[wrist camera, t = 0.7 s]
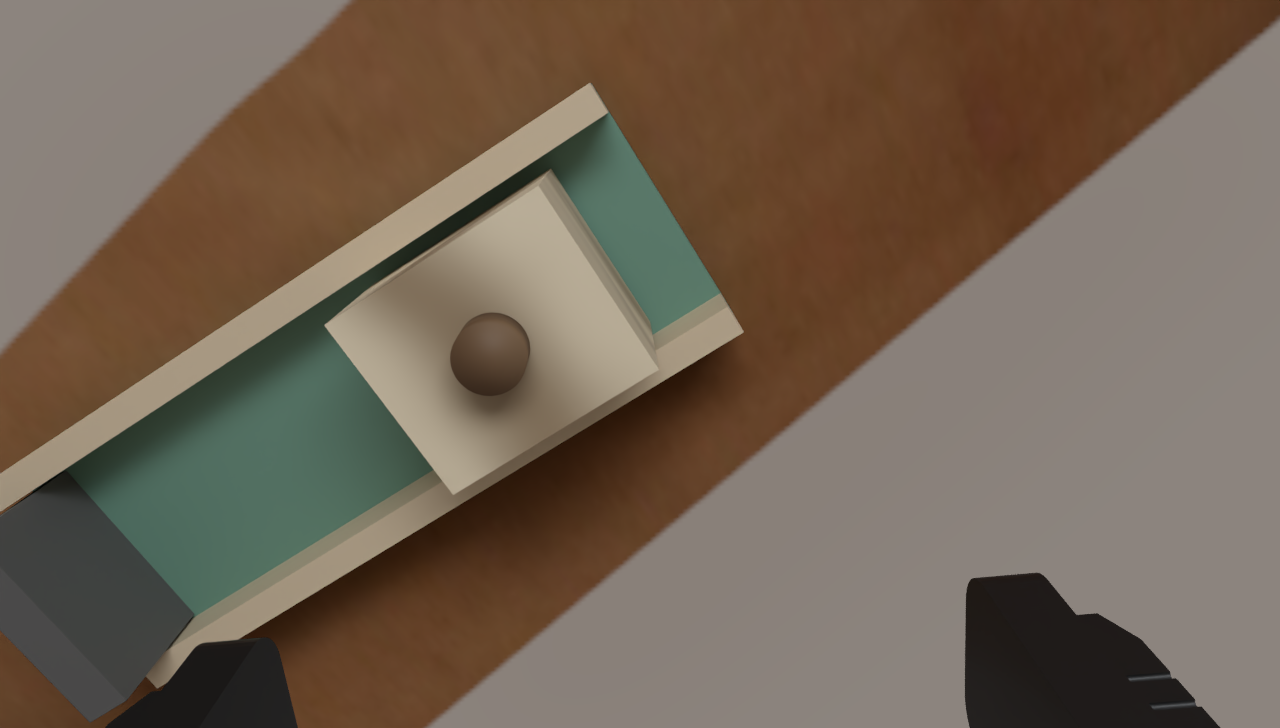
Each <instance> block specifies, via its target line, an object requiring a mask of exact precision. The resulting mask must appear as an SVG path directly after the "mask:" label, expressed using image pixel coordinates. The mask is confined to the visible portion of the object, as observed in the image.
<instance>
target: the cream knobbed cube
mask: <svg viewBox="0 0 1280 728" xmlns="http://www.w3.org/2000/svg"><path fill="white" fill-rule="evenodd" d="M324 326H325V327H326V328H327V330H328V331H329V332H330V334H331V335H332V336H333V338H334V339H335V340H336V342H337V343H338V344H339V346H340V347H341V348H342V349H343V351H344V352H345V353H346V355H347V356H348V357H349V359H350V360H351V361H352V363H353V364H354V365H355V367H356V368H357V369H358V371H359V372H360V373H361V374H362V376H363V377H364V378H365V380H366V381H367V382H368V384H369V385H370V386H371V388H372V389H373V390H374V392H375V393H376V394H377V396H378V397H379V398H380V399H381V401H382V402H383V403H384V405H385V406H386V407H387V409H388V410H389V411H390V413H391V414H392V415H393V417H394V418H395V419H396V421H397V422H398V423H399V425H400V426H401V427H402V428H403V430H404V431H405V432H406V434H407V435H408V436H409V438H410V439H411V440H412V442H413V443H414V444H415V446H416V447H417V448H418V450H419V451H420V452H421V453H422V455H423V456H424V457H425V459H426V460H427V461H428V463H429V464H430V465H431V467H432V468H433V469H434V471H435V472H436V473H437V475H438V476H439V477H440V478H441V480H442V481H443V482H444V484H445V485H446V486H447V488H448V489H449V490H450V492H451V493H452V494H453V495H454V494H456V493H457V492H459V491H461V490H462V489H464V488H466V487H467V486H469V485H471V484H472V483H474V482H475V481H477V480H479V479H480V478H482V477H484V476H485V475H487V474H489V473H490V472H492V471H494V470H495V469H497V468H498V467H500V466H502V465H503V464H505V463H507V462H508V461H510V460H512V459H513V458H515V457H516V456H518V455H520V454H521V453H523V452H525V451H526V450H528V449H530V448H531V447H533V446H534V445H536V444H538V443H539V442H541V441H543V440H544V439H546V438H548V437H549V436H551V435H553V434H554V433H556V432H557V431H559V430H561V429H562V428H564V427H566V426H567V425H569V424H571V423H572V422H574V421H575V420H577V419H579V418H580V417H582V416H584V415H585V414H587V413H589V412H590V411H592V410H594V409H595V408H597V407H598V406H600V405H602V404H603V403H605V402H607V401H608V400H610V399H612V398H613V397H615V396H616V395H618V394H620V393H621V392H623V391H625V390H626V389H628V388H630V387H631V386H633V385H635V384H636V383H638V382H639V381H641V380H643V379H644V378H646V377H648V376H649V375H651V374H653V373H654V372H656V371H657V370H659V367H658V362H657V356H656V351H655V345H654V340H653V334H652V329H651V323H650V321H649V319H648V318H647V316H646V315H645V313H644V311H643V310H642V308H641V307H640V305H639V304H638V302H637V301H636V299H635V298H634V296H633V294H632V293H631V291H630V290H629V288H628V287H627V285H626V284H625V282H624V281H623V279H622V277H621V276H620V274H619V273H618V271H617V270H616V268H615V267H614V265H613V264H612V262H611V260H610V259H609V257H608V256H607V254H606V253H605V251H604V250H603V248H602V247H601V245H600V244H599V242H598V240H597V239H596V237H595V236H594V234H593V233H592V231H591V230H590V228H589V227H588V225H587V223H586V222H585V220H584V219H583V217H582V216H581V214H580V213H579V211H578V210H577V208H576V206H575V205H574V203H573V202H572V200H571V199H570V197H569V196H568V194H567V193H566V191H565V189H564V188H563V186H562V185H561V183H560V182H559V180H558V179H557V177H556V176H555V174H554V172H553V171H552V169H551V168H550V169H549V170H547V171H546V172H544V173H543V174H541V175H540V176H538V177H537V178H535V179H534V180H532V181H531V182H529V183H527V184H526V185H524V186H523V187H521V188H520V189H518V190H517V191H515V192H514V193H512V194H511V195H509V196H508V197H506V198H505V199H503V200H501V201H500V202H498V203H497V204H495V205H494V206H492V207H491V208H489V209H488V210H486V211H485V212H483V213H482V214H480V215H479V216H477V217H475V218H474V219H472V220H471V221H469V222H468V223H466V224H465V225H463V226H462V227H460V228H459V229H457V230H456V231H454V232H452V233H451V234H449V235H448V236H446V237H445V238H443V239H442V240H440V241H439V242H437V243H436V244H434V245H433V246H431V247H430V248H428V249H426V250H425V251H423V252H422V253H420V254H419V255H417V256H416V257H414V258H413V259H411V260H410V261H408V262H407V263H405V264H403V265H402V266H400V267H399V268H397V269H396V270H394V271H393V272H391V273H390V274H388V275H387V276H385V277H384V278H382V279H381V280H379V281H377V282H376V283H374V284H373V285H372V286H371V287H369V288H368V289H367V290H366V291H365V292H363V293H362V294H361V295H360V296H359V297H357V298H356V299H355V300H354V301H353V302H351V303H350V304H349V305H348V306H347V307H345V308H344V309H343V310H342V311H341V312H339V313H338V314H337V315H336V316H335V317H334V318H332V319H331V320H330V321H329V322H328V323H326V324H325V325H324Z"/></svg>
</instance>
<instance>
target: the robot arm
mask: <svg viewBox="0 0 1280 728" xmlns="http://www.w3.org/2000/svg"><path fill="white" fill-rule="evenodd" d="M965 644H966V645H965V646H966V647H965V702H966V711H967V717H968V722H969V726H970V728H1220V727H1219V726H1218V725H1217V724H1216V722H1215V721H1214V720H1213V719H1212V718H1211V717H1210V716H1209V715H1208V714H1207V713H1206V711H1205V710H1204V709H1203V708H1202V707H1197V706H1196V704H1195V699H1194V698H1193V697H1192V696H1191V695H1190V694H1189V692H1188V691H1187V690H1186V689H1185V688H1184V687H1183V686H1182V685H1181V683H1180V682H1179V681H1178V680H1177V679H1172V678H1171V675H1170V671H1169V670H1168V669H1167V668H1166V667H1165V666H1164V664H1163V663H1162V662H1161V661H1160V660H1159V659H1158V658H1157V657H1156V656H1155V654H1154V653H1153V652H1152V651H1151V650H1150V649H1149V648H1148V647H1147V646H1146V644H1145V643H1144V642H1143V641H1142V640H1141V639H1140V638H1138V637H1136V636H1135V635H1133V634H1131V633H1129V632H1128V631H1126V630H1124V629H1123V628H1121V627H1119V626H1118V625H1116V624H1114V623H1113V622H1111V621H1109V620H1107V619H1106V618H1104V617H1102V616H1101V615H1099V614H1085V615H1076V614H1075V613H1074V612H1073V610H1072V609H1071V608H1070V607H1069V605H1068V604H1067V603H1066V602H1065V601H1064V599H1063V598H1062V597H1061V596H1060V594H1059V593H1058V592H1057V591H1056V590H1055V588H1054V587H1053V586H1052V585H1051V583H1050V582H1049V581H1048V580H1047V579H1046V578H1045V577H1044V576H1043V575H1042V574H1040V573H1029V574H1017V575H1005V576H995V577H982V578H973V579H971V580H970V582H969V584H968V587H967V593H966V641H965ZM106 728H298V727H297V723H296V719H295V715H294V711H293V707H292V703H291V698H290V694H289V690H288V686H287V682H286V678H285V674H284V670H283V666H282V662H281V658H280V654H279V651H278V649H277V647H276V645H275V643H274V642H273V641H272V640H271V639H269V638H252V639H241V640H229V641H217V642H206V643H201V644H199V645H198V646H196V647H195V648H194V649H193V650H192V651H191V653H190V654H189V655H188V657H187V658H186V659H185V661H184V662H183V663H182V664H181V666H180V667H179V668H178V670H177V671H176V672H175V674H174V675H173V676H172V677H171V679H170V680H169V681H168V683H167V684H166V685H165V687H164V688H163V689H162V690H161V691H154V692H150V693H149V694H148V695H146V696H145V697H144V698H142V699H141V700H140V701H138V702H137V703H136V704H134V705H133V706H132V707H130V708H129V709H128V710H126V711H125V712H124V713H122V714H121V715H120V716H118V717H117V718H116V719H114V720H113V721H112V722H110V723H109V724H108V725H107V726H106Z"/></svg>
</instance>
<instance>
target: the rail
mask: <svg viewBox="0 0 1280 728" xmlns="http://www.w3.org/2000/svg"><path fill="white" fill-rule="evenodd" d="M550 168H551V169H552V171H553V172H554V174H555V176H556V177H557V179H558V180H559V182H560V183H561V185H562V186H563V188H564V189H565V191H566V193H567V194H568V196H569V197H570V199H571V200H572V202H573V203H574V205H575V206H576V208H577V210H578V211H579V213H580V214H581V216H582V217H583V219H584V220H585V222H586V223H587V225H588V227H589V228H590V230H591V231H592V233H593V234H594V236H595V237H596V239H597V240H598V242H599V244H600V245H601V247H602V248H603V250H604V251H605V253H606V254H607V256H608V257H609V259H610V260H611V262H612V264H613V265H614V267H615V268H616V270H617V271H618V273H619V274H620V276H621V277H622V279H623V281H624V282H625V284H626V285H627V287H628V288H629V290H630V291H631V293H632V294H633V296H634V298H635V299H636V301H637V302H638V304H639V305H640V307H641V308H642V310H643V311H644V313H645V315H646V316H647V318H648V319H649V321H650V323H651V329H652V334H653V340H654V345H655V351H656V356H657V362H658V367H659V370H657V371H656V372H654V373H653V374H651V375H649V376H648V377H646V378H644V379H643V380H641V381H639V382H638V383H636V384H635V385H633V386H631V387H630V388H628V389H626V390H625V391H623V392H621V393H620V394H618V395H616V396H615V397H613V398H612V399H610V400H608V401H607V402H605V403H603V404H602V405H600V406H598V407H597V408H595V409H594V410H592V411H590V412H589V413H587V414H585V415H584V416H582V417H580V418H579V419H577V420H575V421H574V422H572V423H571V424H569V425H567V426H566V427H564V428H562V429H561V430H559V431H557V432H556V433H554V434H553V435H551V436H549V437H548V438H546V439H544V440H543V441H541V442H539V443H538V444H536V445H534V446H533V447H531V448H530V449H528V450H526V451H525V452H523V453H521V454H520V455H518V456H516V457H515V458H513V459H512V460H510V461H508V462H507V463H505V464H503V465H502V466H500V467H498V468H497V469H495V470H494V471H492V472H490V473H489V474H487V475H485V476H484V477H482V478H480V479H479V480H477V481H475V482H474V483H472V484H471V485H469V486H467V487H466V488H464V489H462V490H461V491H459V492H457V493H456V494H454V495H453V494H452V493H451V492H450V490H449V489H448V488H447V486H446V485H445V484H444V482H443V481H442V480H441V478H440V477H439V476H438V475H437V473H436V472H435V471H434V469H433V468H432V467H431V465H430V464H429V463H428V461H427V460H426V459H425V457H424V456H423V455H422V453H421V452H420V451H419V450H418V448H417V447H416V446H415V444H414V443H413V442H412V440H411V439H410V438H409V436H408V435H407V434H406V432H405V431H404V430H403V428H402V427H401V426H400V425H399V423H398V422H397V421H396V419H395V418H394V417H393V415H392V414H391V413H390V411H389V410H388V409H387V407H386V406H385V405H384V403H383V402H382V401H381V399H380V398H379V397H378V396H377V394H376V393H375V392H374V390H373V389H372V388H371V386H370V385H369V384H368V382H367V381H366V380H365V378H364V377H363V376H362V374H361V373H360V372H359V371H358V369H357V368H356V367H355V365H354V364H353V363H352V361H351V360H350V359H349V357H348V356H347V355H346V353H345V352H344V351H343V349H342V348H341V347H340V346H339V344H338V343H337V342H336V340H335V339H334V338H333V336H332V335H331V334H330V332H329V331H328V330H327V328H326V327H325V326H324V325H325V324H326V323H328V322H329V321H330V320H331V319H332V318H334V317H335V316H336V315H337V314H338V313H339V312H341V311H342V310H343V309H344V308H345V307H347V306H348V305H349V304H350V303H351V302H353V301H354V300H355V299H356V298H357V297H359V296H360V295H361V294H362V293H363V292H365V291H366V290H367V289H368V288H369V287H371V286H372V285H373V284H374V283H376V282H377V281H379V280H381V279H382V278H384V277H385V276H387V275H388V274H390V273H391V272H393V271H394V270H396V269H397V268H399V267H400V266H402V265H403V264H405V263H407V262H408V261H410V260H411V259H413V258H414V257H416V256H417V255H419V254H420V253H422V252H423V251H425V250H426V249H428V248H430V247H431V246H433V245H434V244H436V243H437V242H439V241H440V240H442V239H443V238H445V237H446V236H448V235H449V234H451V233H452V232H454V231H456V230H457V229H459V228H460V227H462V226H463V225H465V224H466V223H468V222H469V221H471V220H472V219H474V218H475V217H477V216H479V215H480V214H482V213H483V212H485V211H486V210H488V209H489V208H491V207H492V206H494V205H495V204H497V203H498V202H500V201H501V200H503V199H505V198H506V197H508V196H509V195H511V194H512V193H514V192H515V191H517V190H518V189H520V188H521V187H523V186H524V185H526V184H527V183H529V182H531V181H532V180H534V179H535V178H537V177H538V176H540V175H541V174H543V173H544V172H546V171H547V170H549V169H550ZM742 333H743V330H742V328H741V326H740V325H739V323H738V321H737V319H736V317H735V316H734V314H733V312H732V310H731V308H730V307H729V305H728V304H727V302H726V300H725V299H724V297H723V296H722V294H721V292H720V291H719V289H718V287H717V286H716V284H715V283H714V281H713V279H712V278H711V276H710V274H709V273H708V271H707V270H706V268H705V266H704V265H703V263H702V261H701V260H700V258H699V257H698V255H697V253H696V252H695V250H694V248H693V247H692V245H691V244H690V242H689V240H688V239H687V237H686V236H685V234H684V232H683V231H682V229H681V227H680V226H679V224H678V223H677V221H676V219H675V218H674V216H673V214H672V213H671V211H670V210H669V208H668V206H667V205H666V203H665V201H664V200H663V198H662V197H661V195H660V193H659V192H658V190H657V188H656V187H655V185H654V184H653V182H652V180H651V179H650V177H649V176H648V174H647V172H646V171H645V169H644V167H643V166H642V164H641V163H640V161H639V159H638V158H637V156H636V154H635V153H634V151H633V150H632V148H631V146H630V145H629V143H628V141H627V140H626V138H625V137H624V135H623V133H622V132H621V130H620V129H619V127H618V125H617V124H616V122H615V120H614V119H613V117H612V116H611V114H610V112H609V111H608V109H607V107H606V106H605V104H604V103H603V101H602V99H601V98H600V96H599V94H598V93H597V91H596V90H595V88H594V86H593V85H592V83H589V84H587V85H586V86H584V87H583V88H581V89H580V90H578V91H577V92H575V93H574V94H572V95H571V96H569V97H568V98H566V99H565V100H563V101H562V102H560V103H559V104H557V105H556V106H554V107H553V108H551V109H550V110H548V111H547V112H545V113H544V114H542V115H541V116H539V117H538V118H536V119H535V120H533V121H532V122H530V123H529V124H527V125H526V126H524V127H523V128H521V129H520V130H518V131H516V132H515V133H513V134H512V135H510V136H509V137H507V138H506V139H504V140H503V141H501V142H500V143H498V144H497V145H495V146H494V147H492V148H491V149H489V150H488V151H486V152H485V153H483V154H482V155H480V156H479V157H477V158H476V159H474V160H473V161H471V162H470V163H468V164H467V165H465V166H464V167H462V168H461V169H459V170H458V171H456V172H455V173H453V174H452V175H450V176H449V177H447V178H446V179H444V180H443V181H441V182H440V183H438V184H437V185H435V186H434V187H432V188H431V189H429V190H427V191H426V192H424V193H423V194H421V195H420V196H418V197H417V198H415V199H414V200H412V201H411V202H409V203H408V204H406V205H405V206H403V207H402V208H400V209H399V210H397V211H396V212H394V213H393V214H391V215H390V216H388V217H387V218H385V219H384V220H382V221H381V222H379V223H378V224H376V225H375V226H373V227H372V228H370V229H369V230H367V231H366V232H364V233H363V234H361V235H360V236H358V237H357V238H355V239H354V240H352V241H351V242H349V243H348V244H346V245H345V246H343V247H342V248H340V249H338V250H337V251H335V252H334V253H332V254H331V255H329V256H328V257H326V258H325V259H323V260H322V261H320V262H319V263H317V264H316V265H314V266H313V267H311V268H310V269H308V270H307V271H305V272H304V273H302V274H301V275H299V276H298V277H296V278H295V279H293V280H292V281H290V282H289V283H287V284H286V285H284V286H283V287H281V288H280V289H278V290H277V291H275V292H274V293H272V294H271V295H269V296H268V297H266V298H265V299H263V300H262V301H260V302H259V303H257V304H256V305H254V306H253V307H251V308H249V309H248V310H246V311H245V312H243V313H242V314H240V315H239V316H237V317H236V318H234V319H233V320H231V321H230V322H228V323H227V324H225V325H224V326H222V327H221V328H219V329H218V330H216V331H215V332H213V333H212V334H210V335H209V336H207V337H206V338H204V339H203V340H201V341H200V342H198V343H197V344H195V345H194V346H192V347H191V348H189V349H188V350H186V351H185V352H183V353H182V354H180V355H179V356H177V357H176V358H174V359H173V360H171V361H170V362H168V363H167V364H165V365H164V366H162V367H160V368H159V369H157V370H156V371H154V372H153V373H151V374H150V375H148V376H147V377H145V378H144V379H142V380H141V381H139V382H138V383H136V384H135V385H133V386H132V387H130V388H129V389H127V390H126V391H124V392H123V393H121V394H120V395H118V396H117V397H115V398H114V399H112V400H111V401H109V402H108V403H106V404H105V405H103V406H102V407H100V408H99V409H97V410H96V411H94V412H93V413H91V414H90V415H88V416H87V417H85V418H84V419H82V420H81V421H79V422H78V423H76V424H75V425H73V426H71V427H70V428H68V429H67V430H65V431H64V432H62V433H61V434H59V435H58V436H56V437H55V438H53V439H52V440H50V441H49V442H47V443H46V444H44V445H43V446H41V447H40V448H38V449H37V450H35V451H34V452H32V453H31V454H29V455H28V456H26V457H25V458H23V459H22V460H20V461H19V462H17V463H16V464H14V465H13V466H11V467H10V468H8V469H7V470H5V471H4V472H2V473H1V474H0V511H2V510H3V509H5V508H7V507H8V506H10V505H11V504H13V503H14V502H16V501H17V500H19V499H20V498H22V497H23V496H25V495H26V494H28V493H29V492H31V491H33V493H31V494H30V495H28V496H27V497H25V498H24V499H23V500H21V501H20V502H18V503H17V504H15V505H14V506H13V507H11V508H10V509H8V510H7V511H6V512H4V513H3V514H1V515H0V631H1V632H2V633H3V634H4V635H5V636H6V637H7V638H8V639H9V640H10V641H11V642H12V643H13V644H14V645H15V646H16V647H17V648H18V649H19V650H20V651H21V652H22V653H23V654H24V655H25V656H26V657H27V658H28V659H29V660H30V661H31V662H32V663H33V665H34V666H35V667H36V668H37V669H38V670H39V671H40V672H41V673H42V674H43V675H44V676H45V677H46V678H47V679H48V680H49V681H50V682H51V683H52V684H53V685H54V686H55V687H56V688H57V689H58V690H59V691H60V692H61V693H62V694H63V695H64V696H65V697H66V698H67V699H68V700H69V702H70V703H71V704H72V705H73V706H74V707H75V708H76V709H77V710H78V711H79V712H80V713H81V714H82V715H83V716H84V717H85V718H86V719H87V720H88V721H89V722H92V721H93V720H95V719H97V718H98V717H100V716H102V715H103V714H105V713H107V712H108V711H110V710H112V709H113V708H115V707H116V706H118V705H120V704H121V703H123V702H125V701H126V700H127V699H128V698H129V697H130V695H131V694H132V693H133V692H134V690H135V689H136V688H137V686H138V685H139V684H140V683H141V681H142V680H143V679H144V678H145V676H146V677H147V678H148V679H149V680H150V681H151V683H152V684H153V685H154V686H155V687H156V688H159V687H161V686H162V685H164V684H166V683H167V682H168V681H169V680H170V679H171V677H172V676H173V675H174V674H175V672H176V671H177V670H178V668H179V667H180V666H181V664H182V663H183V662H184V661H185V659H186V658H187V657H188V655H189V654H190V653H191V651H192V650H193V649H194V648H195V647H196V646H198V645H199V644H201V643H206V642H217V641H229V640H238V639H240V638H241V637H243V636H245V635H246V634H248V633H250V632H251V631H253V630H254V629H256V628H258V627H259V626H261V625H263V624H264V623H266V622H268V621H269V620H271V619H273V618H274V617H276V616H278V615H279V614H281V613H282V612H284V611H286V610H287V609H289V608H291V607H292V606H294V605H296V604H297V603H299V602H301V601H302V600H304V599H305V598H307V597H309V596H310V595H312V594H314V593H315V592H317V591H319V590H320V589H322V588H324V587H325V586H327V585H329V584H330V583H332V582H333V581H335V580H337V579H338V578H340V577H342V576H343V575H345V574H347V573H348V572H350V571H352V570H353V569H355V568H357V567H358V566H360V565H361V564H363V563H365V562H366V561H368V560H370V559H371V558H373V557H375V556H376V555H378V554H380V553H381V552H383V551H384V550H386V549H388V548H389V547H391V546H393V545H394V544H396V543H398V542H399V541H401V540H403V539H404V538H406V537H408V536H409V535H411V534H412V533H414V532H416V531H417V530H419V529H421V528H422V527H424V526H426V525H427V524H429V523H431V522H432V521H434V520H436V519H437V518H439V517H440V516H442V515H444V514H445V513H447V512H449V511H450V510H452V509H454V508H455V507H457V506H459V505H460V504H462V503H463V502H465V501H467V500H468V499H470V498H472V497H473V496H475V495H477V494H478V493H480V492H482V491H483V490H485V489H487V488H488V487H490V486H491V485H493V484H495V483H496V482H498V481H500V480H501V479H503V478H505V477H506V476H508V475H510V474H511V473H513V472H515V471H516V470H518V469H519V468H521V467H523V466H524V465H526V464H528V463H529V462H531V461H533V460H534V459H536V458H538V457H539V456H541V455H542V454H544V453H546V452H547V451H549V450H551V449H552V448H554V447H556V446H557V445H559V444H561V443H562V442H564V441H566V440H567V439H569V438H570V437H572V436H574V435H575V434H577V433H579V432H580V431H582V430H584V429H585V428H587V427H589V426H590V425H592V424H594V423H595V422H597V421H598V420H600V419H602V418H603V417H605V416H607V415H608V414H610V413H612V412H613V411H615V410H617V409H618V408H620V407H621V406H623V405H625V404H626V403H628V402H630V401H631V400H633V399H635V398H636V397H638V396H640V395H641V394H643V393H645V392H646V391H648V390H649V389H651V388H653V387H654V386H656V385H658V384H659V383H661V382H663V381H664V380H666V379H668V378H669V377H671V376H673V375H674V374H676V373H677V372H679V371H681V370H682V369H684V368H686V367H687V366H689V365H691V364H692V363H694V362H696V361H697V360H699V359H700V358H702V357H704V356H705V355H707V354H709V353H710V352H712V351H714V350H715V349H717V348H719V347H720V346H722V345H724V344H725V343H727V342H728V341H730V340H732V339H733V338H735V337H737V336H738V335H740V334H742Z"/></svg>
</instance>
